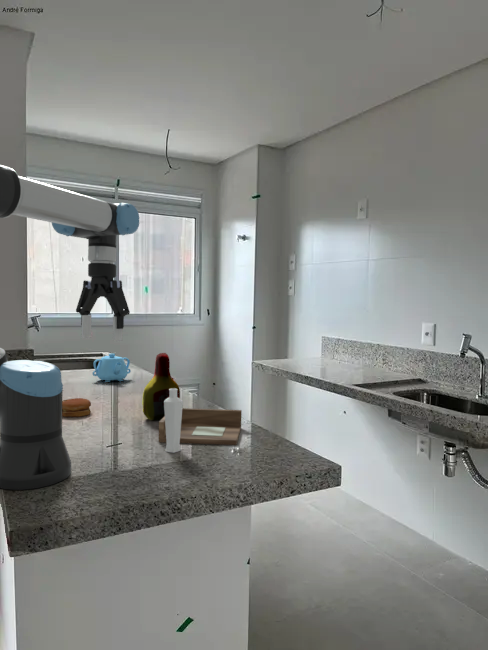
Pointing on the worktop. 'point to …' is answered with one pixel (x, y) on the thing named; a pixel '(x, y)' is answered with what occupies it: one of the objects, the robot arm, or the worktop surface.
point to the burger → (75, 407)
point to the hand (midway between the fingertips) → (101, 339)
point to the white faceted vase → (173, 421)
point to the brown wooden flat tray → (207, 426)
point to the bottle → (158, 389)
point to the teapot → (111, 368)
